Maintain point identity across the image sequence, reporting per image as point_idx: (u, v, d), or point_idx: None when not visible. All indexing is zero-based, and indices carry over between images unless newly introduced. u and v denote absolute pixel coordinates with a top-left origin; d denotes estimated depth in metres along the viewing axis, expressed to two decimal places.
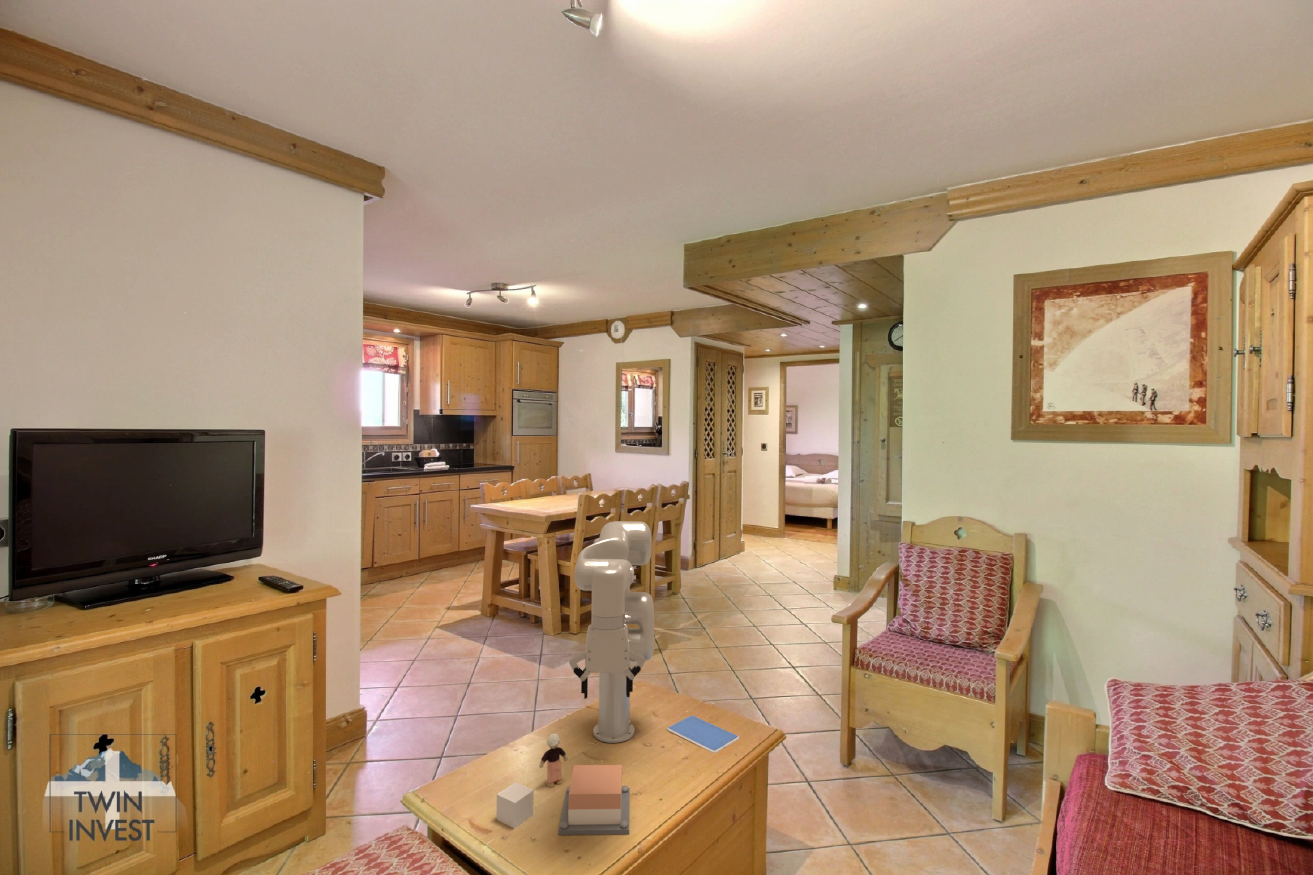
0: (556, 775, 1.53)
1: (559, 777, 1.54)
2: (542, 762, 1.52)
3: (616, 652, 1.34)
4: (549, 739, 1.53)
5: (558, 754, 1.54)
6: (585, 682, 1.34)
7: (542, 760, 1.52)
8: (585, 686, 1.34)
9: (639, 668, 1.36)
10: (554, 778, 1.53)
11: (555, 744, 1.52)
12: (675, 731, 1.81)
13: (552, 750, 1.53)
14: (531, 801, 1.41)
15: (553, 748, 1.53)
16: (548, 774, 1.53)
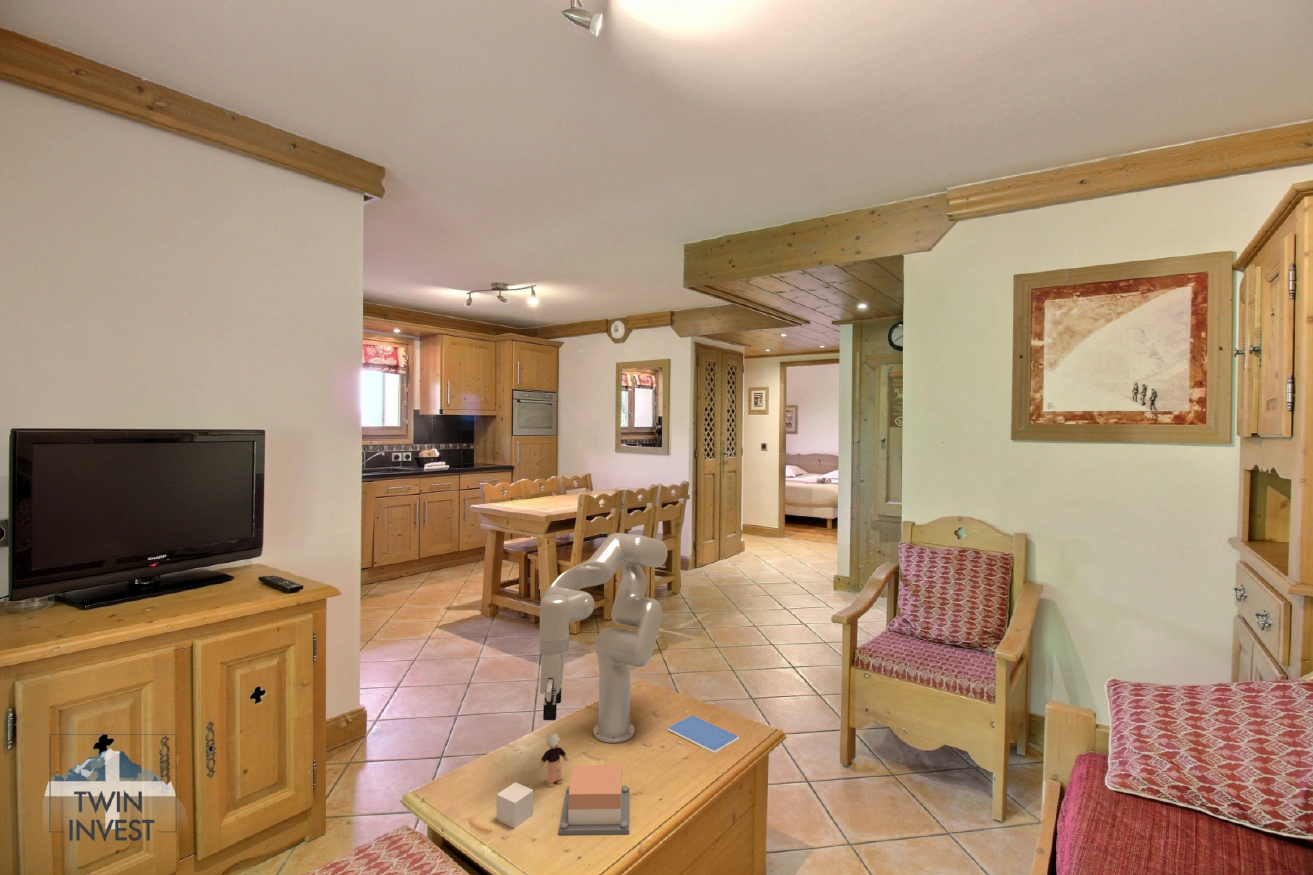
0: (556, 775, 1.53)
1: (559, 777, 1.54)
2: (542, 762, 1.52)
3: (563, 666, 1.56)
4: (549, 739, 1.53)
5: (558, 754, 1.54)
6: (556, 704, 1.49)
7: (542, 760, 1.52)
8: (556, 708, 1.49)
9: None
10: (554, 778, 1.53)
11: (555, 744, 1.52)
12: (675, 731, 1.81)
13: (552, 750, 1.53)
14: (531, 801, 1.41)
15: (553, 748, 1.53)
16: (548, 774, 1.53)
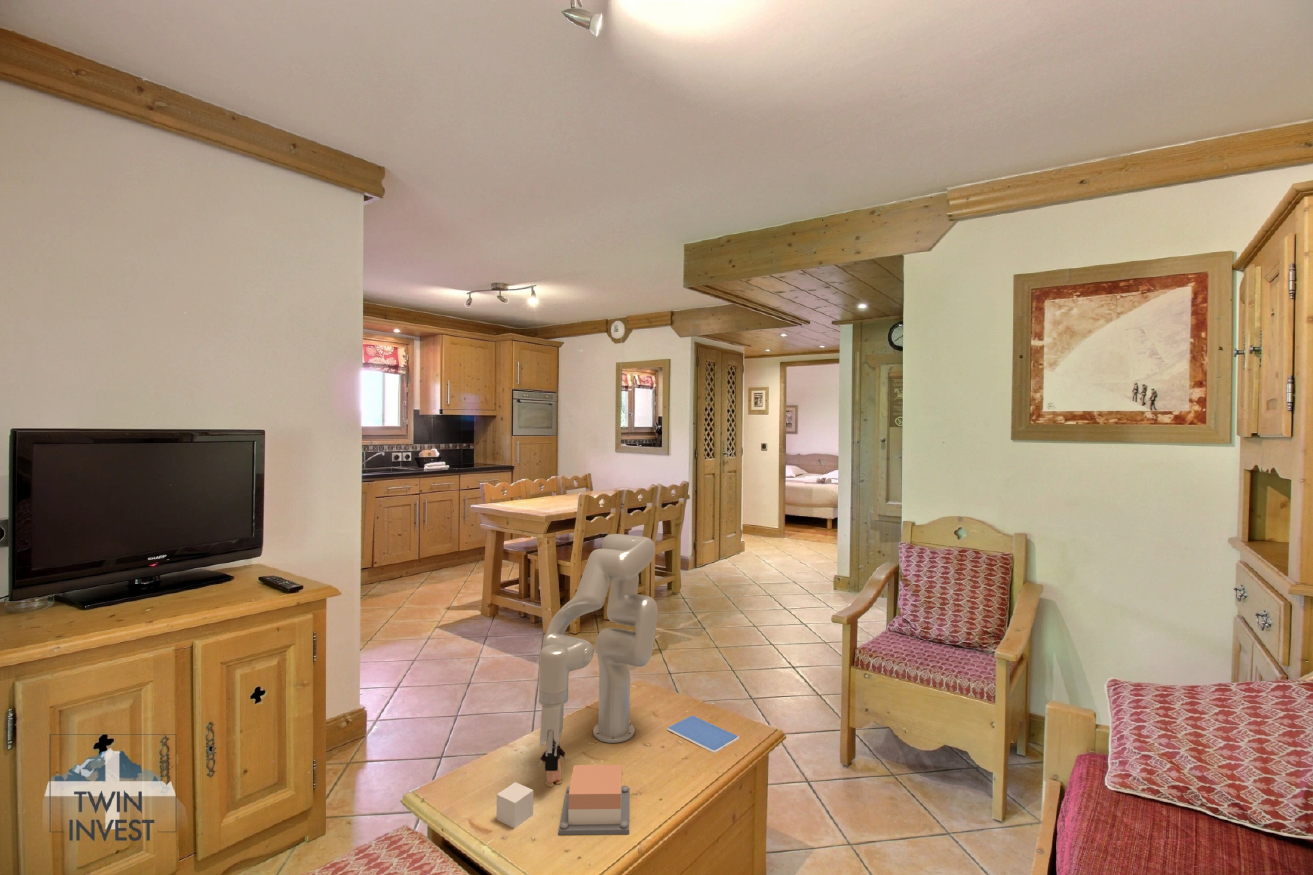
0: (555, 775, 1.53)
1: (558, 777, 1.54)
2: (541, 762, 1.52)
3: None
4: None
5: None
6: (557, 755, 1.52)
7: (541, 760, 1.52)
8: (557, 758, 1.52)
9: None
10: (553, 778, 1.53)
11: None
12: (675, 730, 1.81)
13: None
14: (531, 801, 1.41)
15: None
16: (547, 774, 1.53)
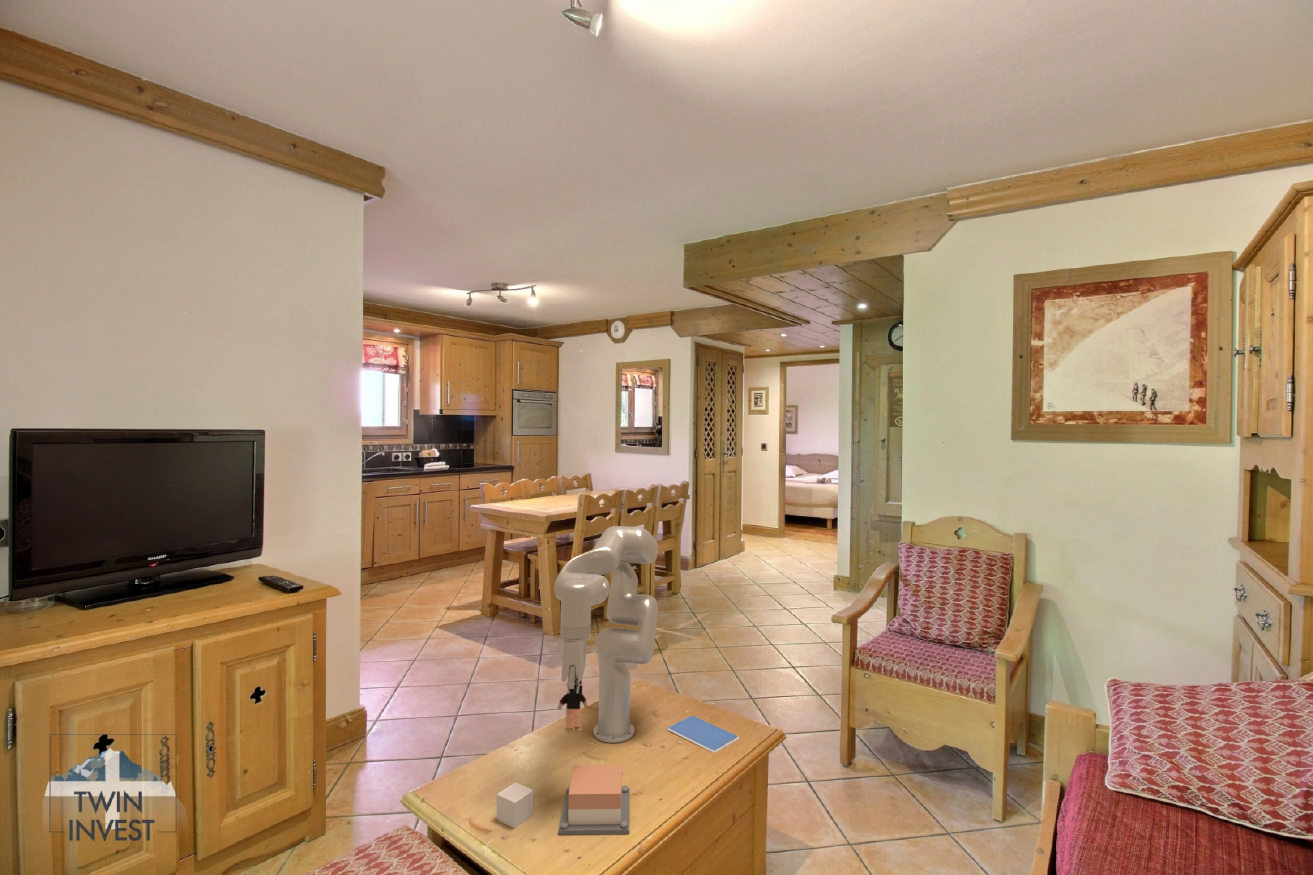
0: (575, 721, 1.47)
1: (578, 724, 1.47)
2: (560, 704, 1.46)
3: None
4: None
5: None
6: None
7: (560, 702, 1.46)
8: None
9: None
10: (572, 724, 1.47)
11: None
12: (675, 730, 1.81)
13: None
14: (531, 801, 1.41)
15: None
16: (566, 719, 1.47)
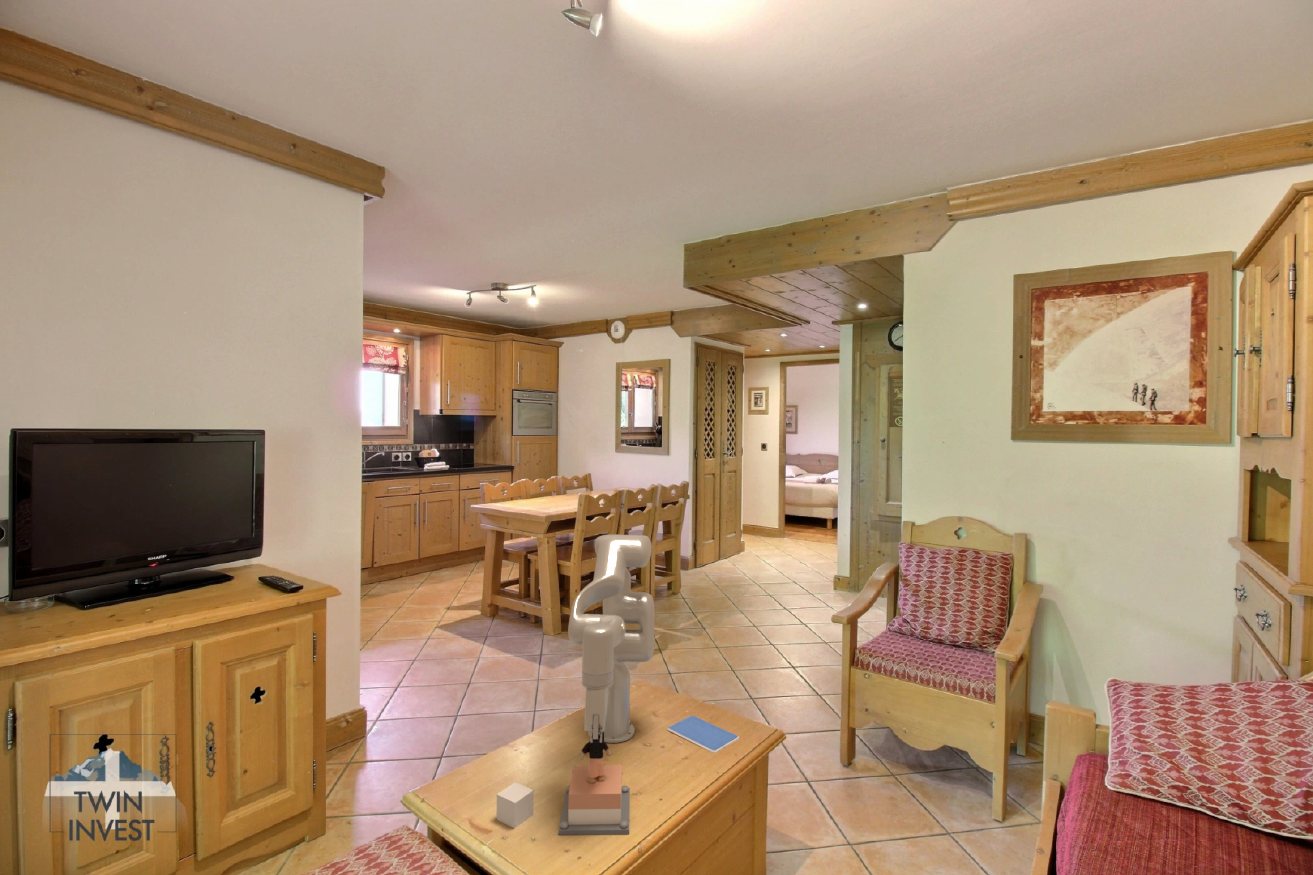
0: (597, 770, 1.41)
1: (601, 773, 1.42)
2: (582, 754, 1.40)
3: None
4: (590, 729, 1.42)
5: None
6: None
7: (582, 751, 1.41)
8: None
9: None
10: (595, 773, 1.41)
11: None
12: (675, 730, 1.81)
13: None
14: (531, 801, 1.41)
15: None
16: (589, 768, 1.41)
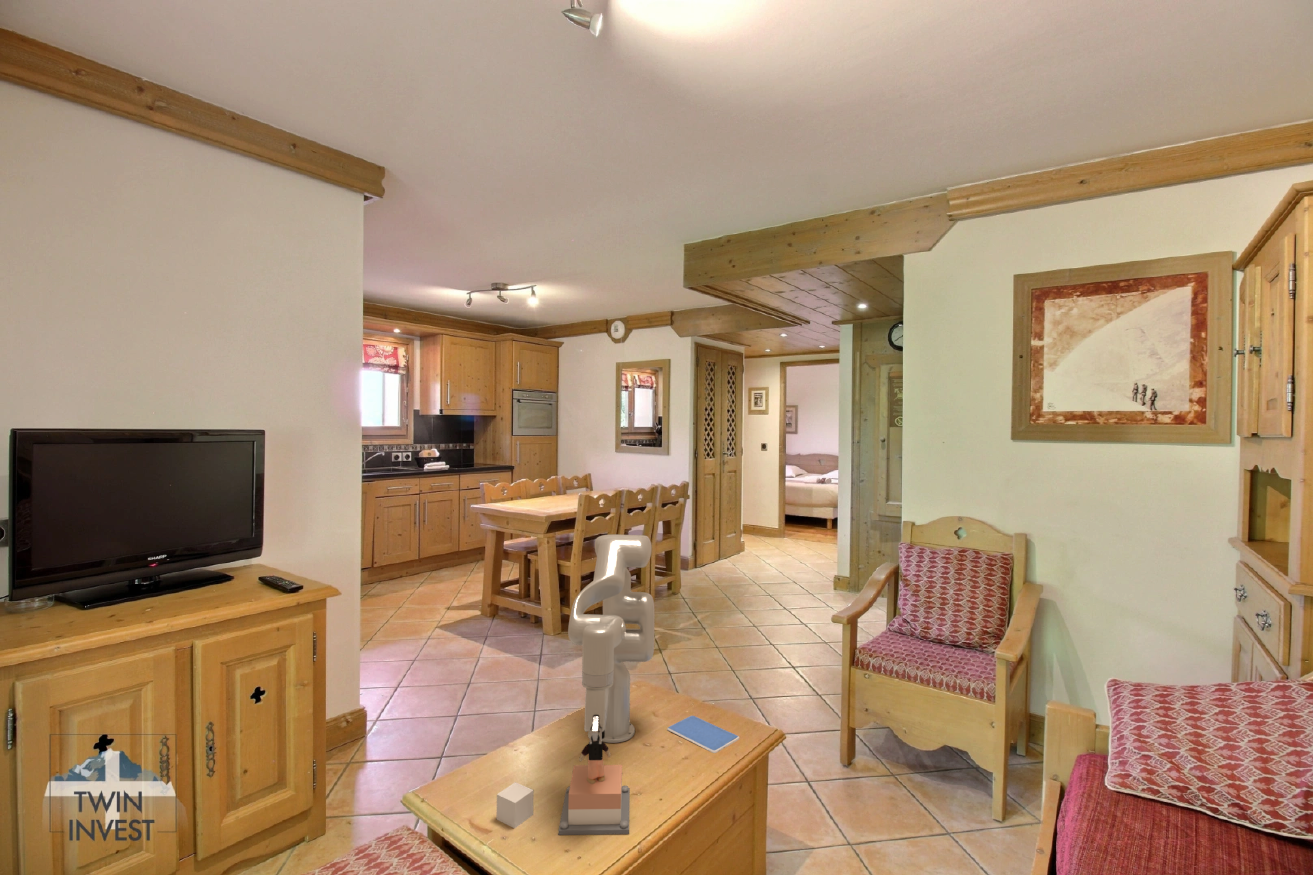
0: (597, 771, 1.41)
1: (601, 774, 1.42)
2: (582, 756, 1.40)
3: None
4: None
5: None
6: (602, 743, 1.38)
7: (582, 753, 1.40)
8: (602, 747, 1.38)
9: None
10: (595, 774, 1.41)
11: None
12: (675, 730, 1.81)
13: None
14: (531, 801, 1.41)
15: None
16: (589, 769, 1.41)
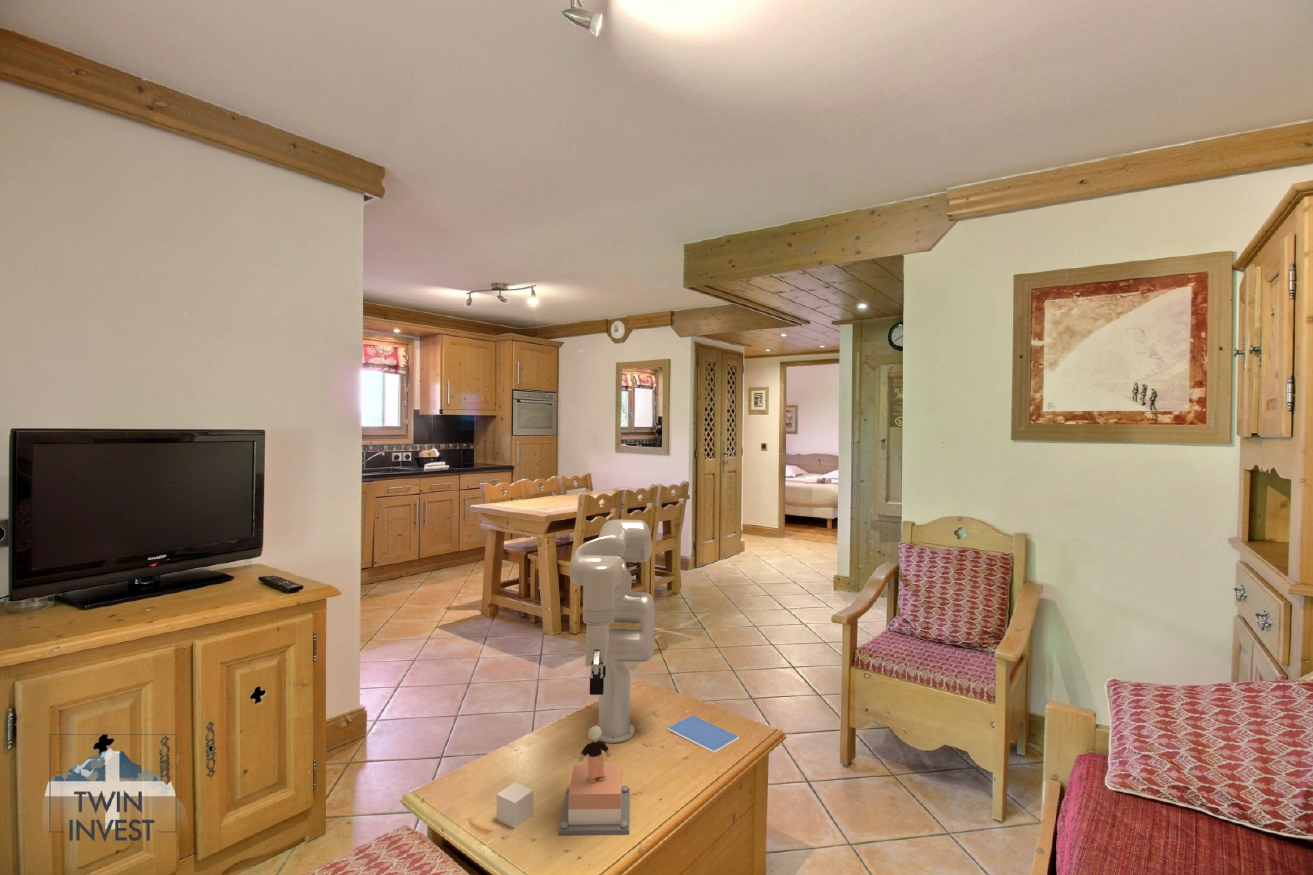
0: (597, 771, 1.41)
1: (601, 774, 1.42)
2: (582, 756, 1.40)
3: None
4: (590, 731, 1.41)
5: (600, 749, 1.41)
6: (603, 678, 1.38)
7: (582, 753, 1.40)
8: (603, 681, 1.38)
9: None
10: (595, 774, 1.41)
11: (596, 737, 1.40)
12: (675, 730, 1.81)
13: (593, 743, 1.41)
14: (531, 801, 1.41)
15: (594, 742, 1.41)
16: (589, 769, 1.41)
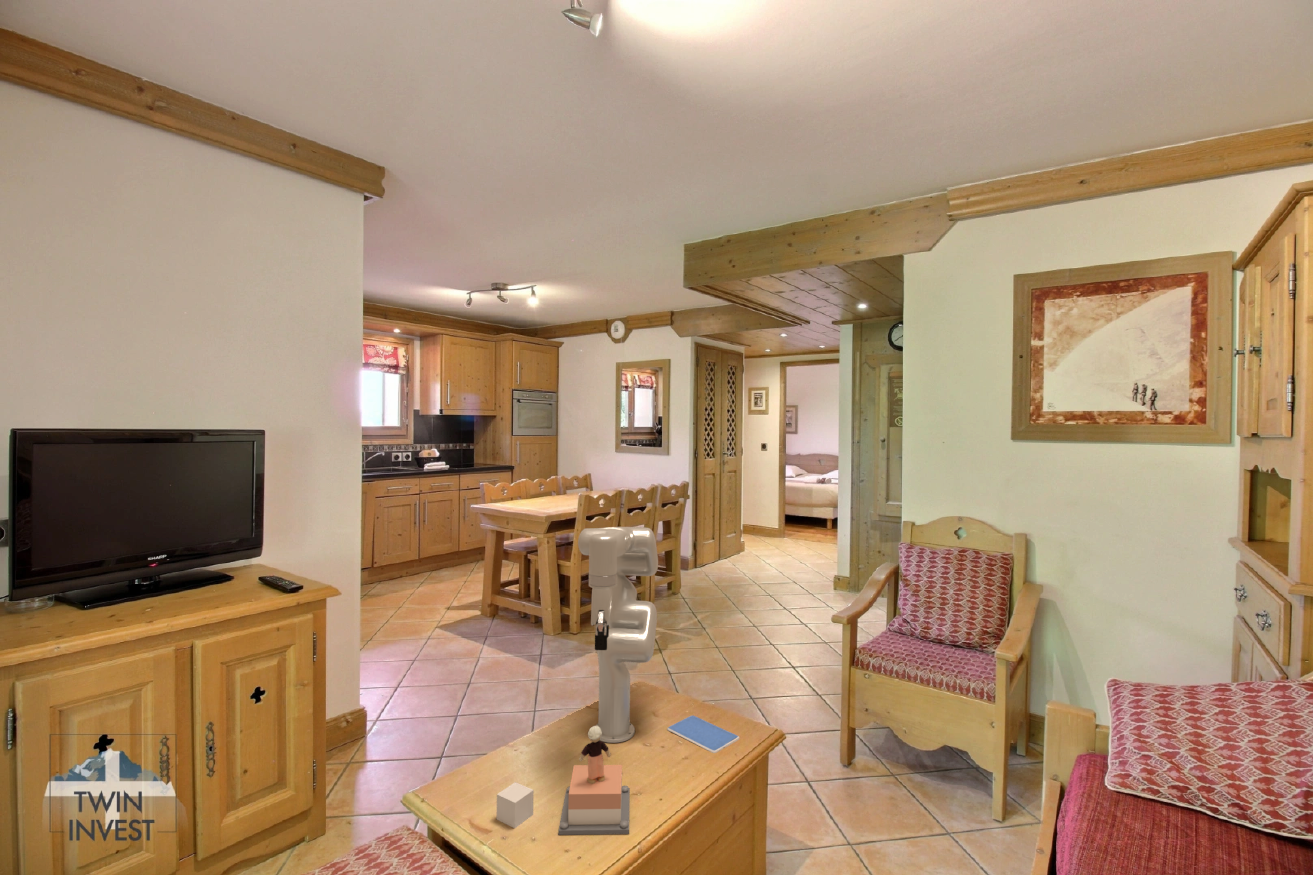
0: (597, 771, 1.41)
1: (601, 774, 1.42)
2: (582, 755, 1.40)
3: None
4: (590, 731, 1.41)
5: (600, 749, 1.41)
6: (607, 635, 1.55)
7: (582, 753, 1.40)
8: (607, 638, 1.55)
9: None
10: (595, 774, 1.41)
11: (596, 737, 1.40)
12: (675, 730, 1.81)
13: (593, 743, 1.41)
14: (531, 801, 1.41)
15: (594, 742, 1.41)
16: (589, 769, 1.41)
